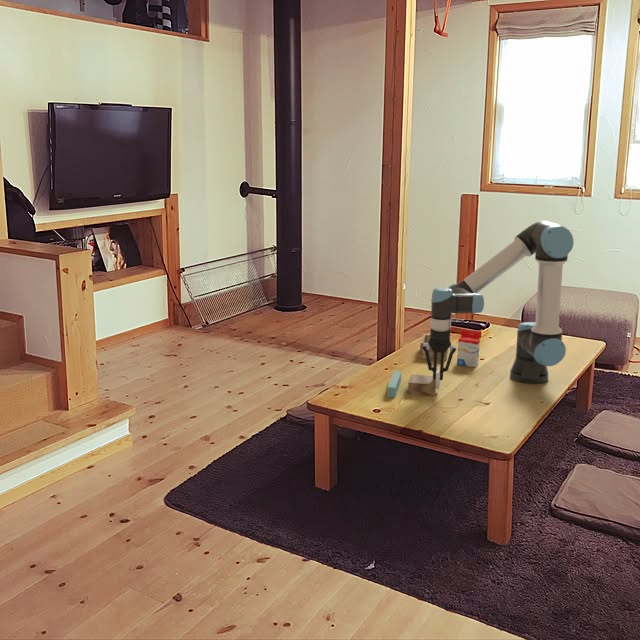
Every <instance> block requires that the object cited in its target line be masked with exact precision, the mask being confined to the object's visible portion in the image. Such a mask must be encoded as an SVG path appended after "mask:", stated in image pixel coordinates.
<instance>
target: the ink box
mask: <svg viewBox="0 0 640 640" xmlns="http://www.w3.org/2000/svg"><path fill="white" fill-rule="evenodd" d="M480 336H481V332H480V331H476V330H470V329H469V330H468V329H461V333H460V337H459V338H458V342H457V359H456V365H457V366H461V367H462V366H464V367H472V368H477V367H478V365H479V360H480V358H479V357H480V343H481V338H480Z"/></svg>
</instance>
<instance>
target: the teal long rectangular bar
mask: <svg viewBox="0 0 640 640" xmlns="http://www.w3.org/2000/svg"><path fill="white" fill-rule="evenodd" d="M401 382H402V371H401V370H400V371H399V370H393V372H392V375H391V378H390V380H389V383H388V385H387V392H386V393H387V394H386V395H387V398H393V399H395V398H396V396H397V395H398V391H399V388H400V385H401Z"/></svg>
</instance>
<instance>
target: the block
mask: <svg viewBox="0 0 640 640" xmlns="http://www.w3.org/2000/svg"><path fill="white" fill-rule="evenodd" d="M435 385H436V380H433V375H424V374H423V375H422V374H411V375H410V377H409V380H408V386H407V395H412V396H424V397H425V396H426V397H435V395H436V390H437V389H435Z"/></svg>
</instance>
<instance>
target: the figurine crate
mask: <svg viewBox="0 0 640 640" xmlns="http://www.w3.org/2000/svg"><path fill="white" fill-rule="evenodd" d="M429 340H430V333H422V338H421V341H420V348H419V350H420V351H419V352H420V353H419V359H423V360H427V359H426V354H425V351H424V350H423V345H424V344H425V345H426V344H428V342H429ZM429 354H430V359H431V360H434V351H433V350H432V349H431V347H430V346H429ZM448 356H449V348H448V349H447V351H446V352H444V361H447V360H448ZM438 360H439V361H440V360H441V353H438V354H437V361H438Z"/></svg>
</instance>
